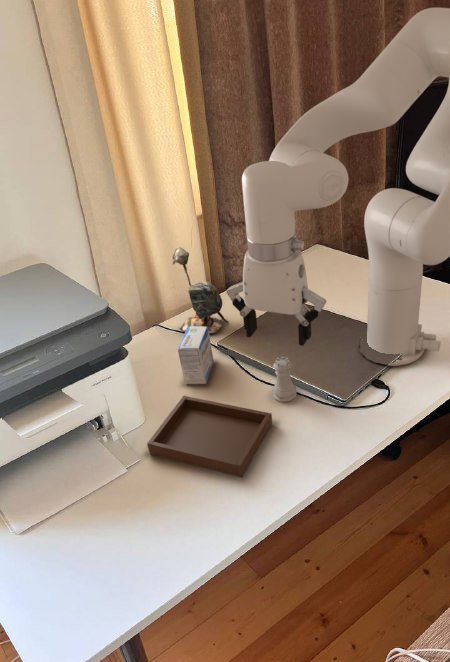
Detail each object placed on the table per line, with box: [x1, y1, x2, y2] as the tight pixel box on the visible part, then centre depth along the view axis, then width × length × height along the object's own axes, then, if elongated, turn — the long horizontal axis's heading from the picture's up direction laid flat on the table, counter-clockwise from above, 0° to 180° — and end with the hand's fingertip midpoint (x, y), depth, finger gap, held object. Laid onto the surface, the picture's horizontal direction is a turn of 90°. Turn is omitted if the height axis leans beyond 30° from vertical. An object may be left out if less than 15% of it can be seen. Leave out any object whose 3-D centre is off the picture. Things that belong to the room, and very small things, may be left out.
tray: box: [146, 395, 274, 478], centre depth 110 cm, size 18×14×3 cm
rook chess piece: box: [272, 356, 297, 403], centre depth 115 cm, size 4×4×8 cm
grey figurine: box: [171, 246, 230, 334], centre depth 133 cm, size 8×11×20 cm
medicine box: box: [177, 326, 215, 385], centre depth 124 cm, size 8×4×9 cm, turn 168°
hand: (277, 337), depth 109 cm, fingers open, 9 cm apart
